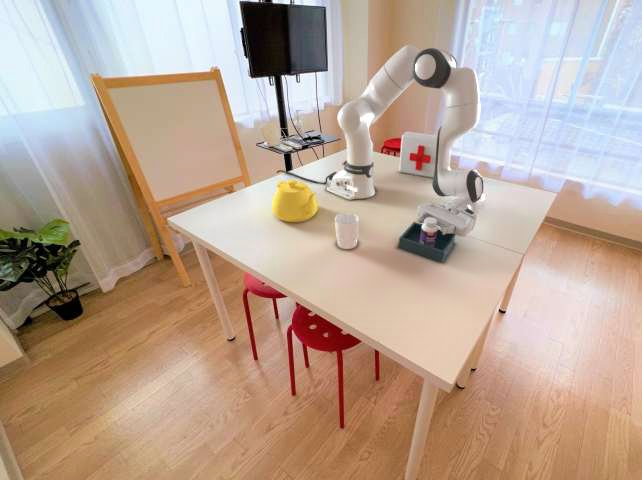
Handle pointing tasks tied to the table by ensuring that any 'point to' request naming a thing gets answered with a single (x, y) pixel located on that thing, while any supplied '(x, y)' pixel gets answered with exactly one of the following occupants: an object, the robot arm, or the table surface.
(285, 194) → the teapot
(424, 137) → the bevelled white case
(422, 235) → the pill bottle
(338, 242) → the white cup
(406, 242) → the tote
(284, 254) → the table surface
